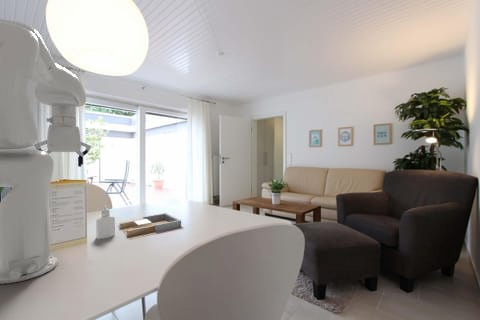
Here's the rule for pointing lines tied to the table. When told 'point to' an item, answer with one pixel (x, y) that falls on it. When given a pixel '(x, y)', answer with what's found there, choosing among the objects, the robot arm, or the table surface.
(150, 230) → the slotted board
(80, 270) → the table surface
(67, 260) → the table surface
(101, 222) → the eye dropper bottle
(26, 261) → the robot arm
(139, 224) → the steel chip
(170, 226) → the grey tray
